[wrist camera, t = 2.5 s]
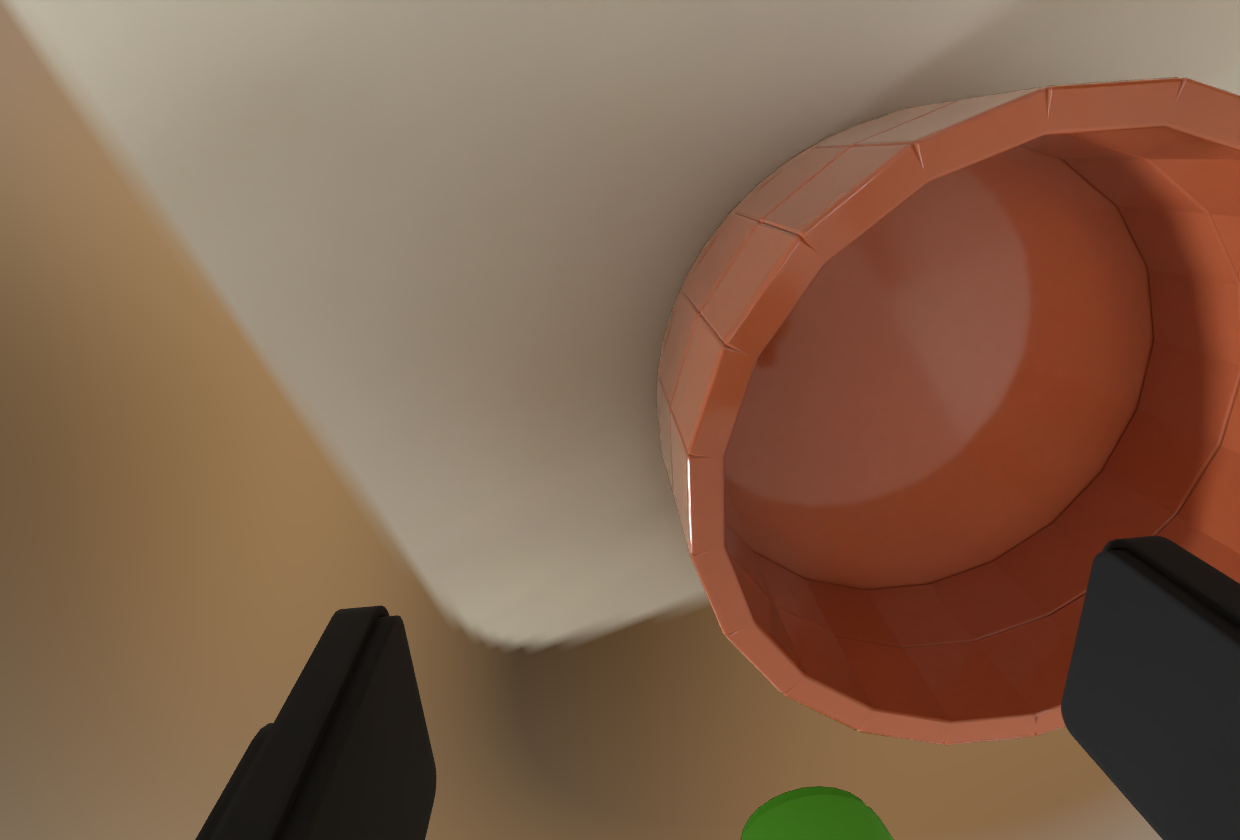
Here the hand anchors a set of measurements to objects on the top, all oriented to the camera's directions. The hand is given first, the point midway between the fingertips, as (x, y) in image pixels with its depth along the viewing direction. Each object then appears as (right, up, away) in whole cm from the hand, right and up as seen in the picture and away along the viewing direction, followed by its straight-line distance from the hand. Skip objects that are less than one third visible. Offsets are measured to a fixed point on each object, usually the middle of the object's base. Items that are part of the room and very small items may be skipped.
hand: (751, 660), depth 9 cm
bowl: (+6, +4, +9) cm, 11 cm away
